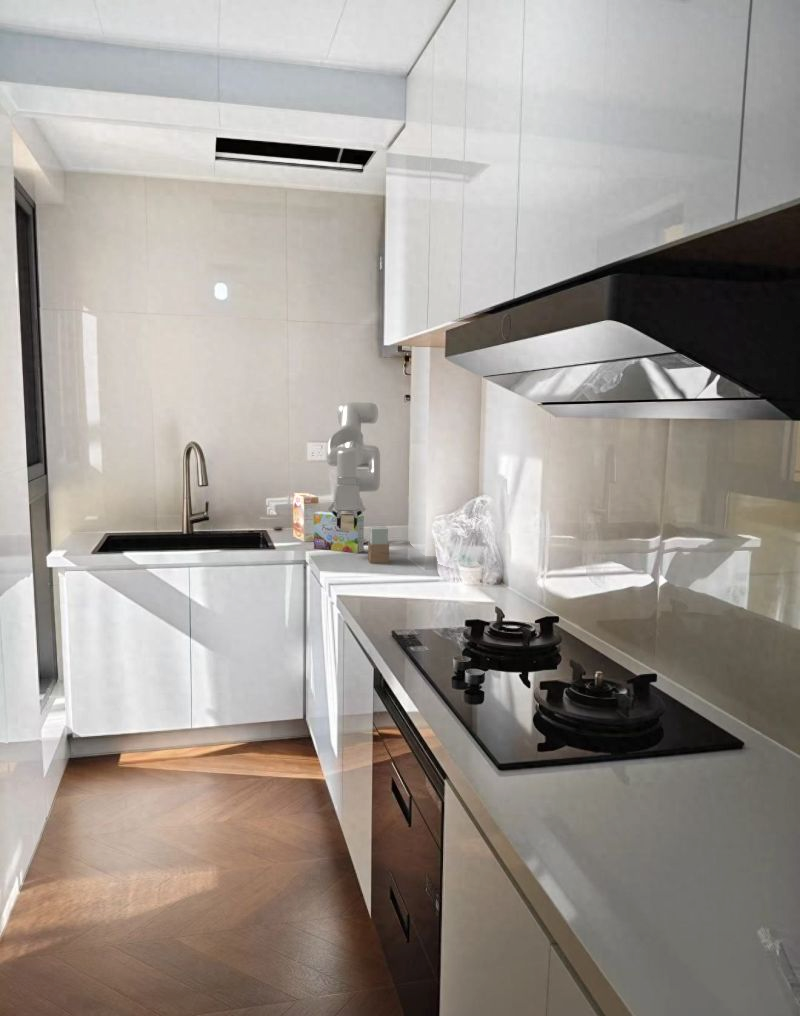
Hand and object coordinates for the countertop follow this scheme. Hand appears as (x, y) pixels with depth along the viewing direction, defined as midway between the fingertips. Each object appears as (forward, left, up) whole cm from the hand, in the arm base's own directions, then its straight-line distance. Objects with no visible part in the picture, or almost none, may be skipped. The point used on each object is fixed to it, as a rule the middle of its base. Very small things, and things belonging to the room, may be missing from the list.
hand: (346, 527), depth 325 cm
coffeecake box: (-42, -14, -12) cm, 46 cm away
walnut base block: (+13, +11, -11) cm, 20 cm away
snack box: (-13, -2, -12) cm, 18 cm away
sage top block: (+13, +11, -4) cm, 17 cm away
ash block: (0, 0, -1) cm, 1 cm away
